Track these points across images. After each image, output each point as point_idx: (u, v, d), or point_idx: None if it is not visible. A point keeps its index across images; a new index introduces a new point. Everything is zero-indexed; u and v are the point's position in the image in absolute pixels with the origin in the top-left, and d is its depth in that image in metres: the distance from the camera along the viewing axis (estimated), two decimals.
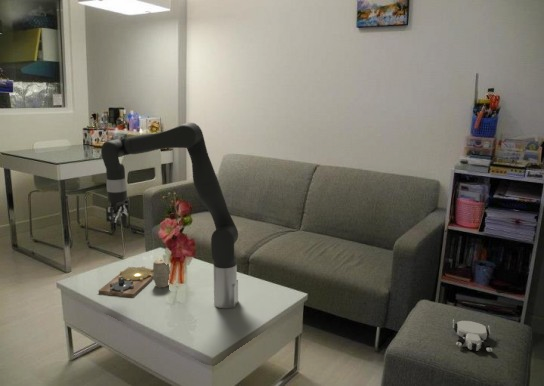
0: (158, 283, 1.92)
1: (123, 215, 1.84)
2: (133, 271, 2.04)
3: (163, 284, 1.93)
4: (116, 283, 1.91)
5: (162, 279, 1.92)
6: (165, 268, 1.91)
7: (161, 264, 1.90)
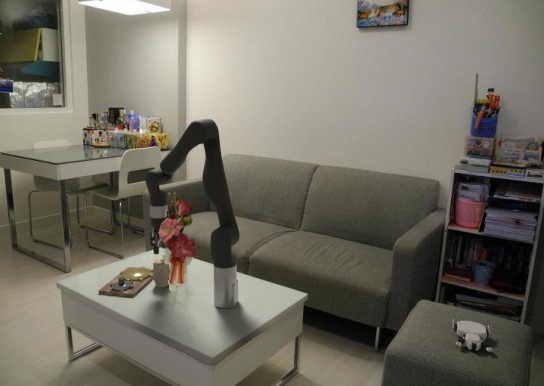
0: (158, 283, 1.92)
1: None
2: (133, 271, 2.04)
3: (163, 284, 1.93)
4: (116, 283, 1.91)
5: (162, 279, 1.92)
6: (165, 268, 1.91)
7: (161, 264, 1.90)
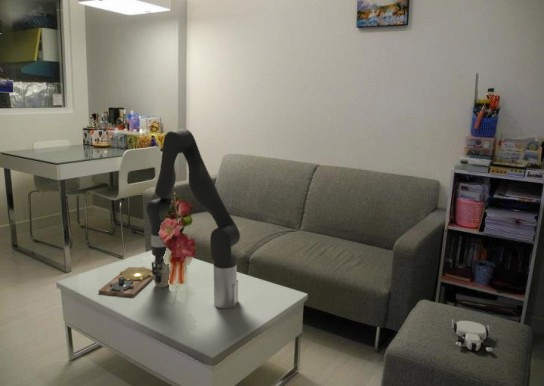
0: (158, 283, 1.92)
1: None
2: (133, 271, 2.04)
3: (163, 284, 1.93)
4: (116, 283, 1.91)
5: (162, 279, 1.92)
6: (165, 268, 1.91)
7: None
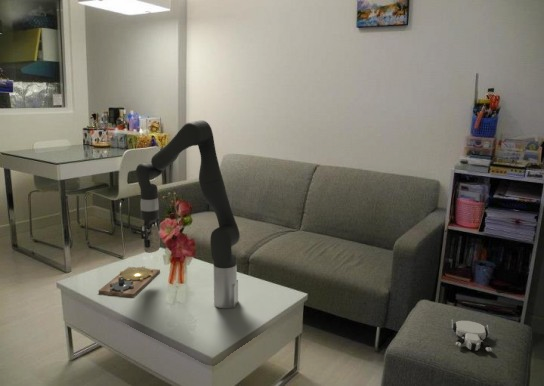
0: (147, 248, 1.91)
1: None
2: (133, 271, 2.04)
3: (152, 250, 1.92)
4: (116, 283, 1.91)
5: (151, 244, 1.91)
6: (154, 233, 1.90)
7: None
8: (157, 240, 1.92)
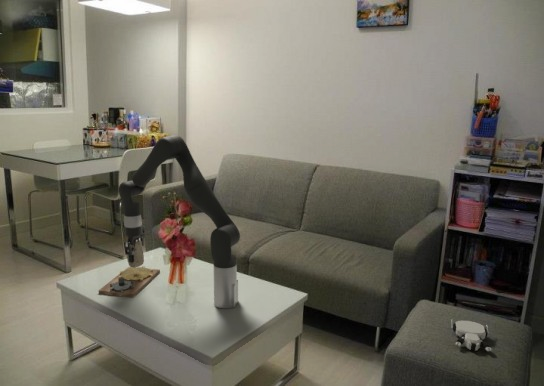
0: (131, 263, 1.98)
1: None
2: (133, 271, 2.04)
3: (136, 264, 1.99)
4: (116, 283, 1.91)
5: (135, 259, 1.98)
6: (138, 248, 1.97)
7: None
8: (141, 255, 1.99)
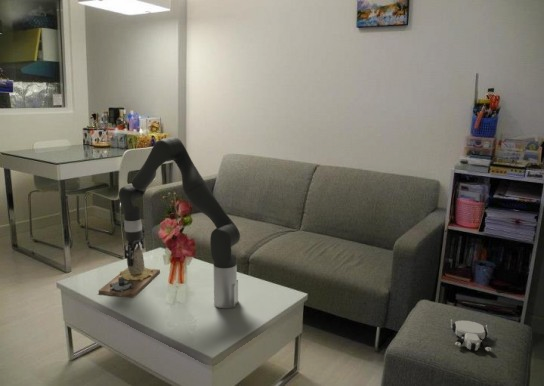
0: (131, 270, 1.99)
1: None
2: None
3: (136, 272, 1.99)
4: (116, 283, 1.91)
5: (135, 266, 1.98)
6: (138, 256, 1.98)
7: None
8: (141, 262, 2.00)
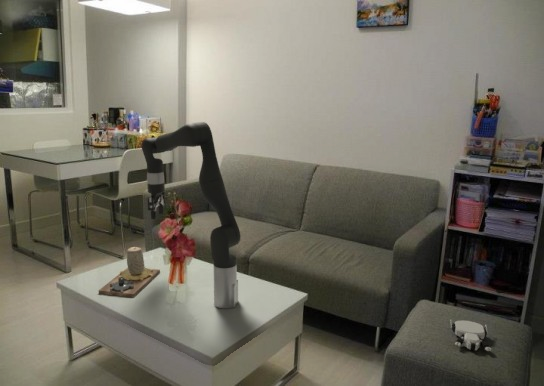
0: (131, 270, 1.99)
1: (160, 205, 2.06)
2: None
3: (137, 272, 1.99)
4: (116, 283, 1.91)
5: (135, 266, 1.98)
6: (138, 256, 1.98)
7: (134, 252, 1.97)
8: (141, 262, 2.00)
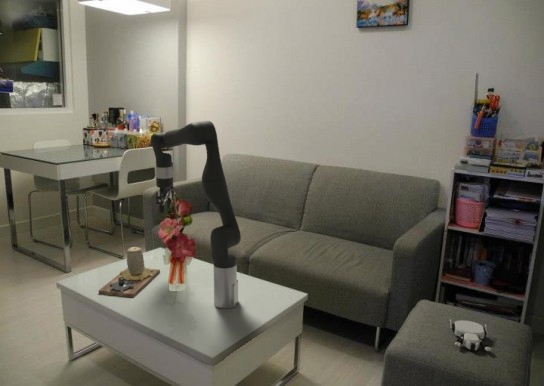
0: (131, 270, 1.99)
1: (168, 199, 2.08)
2: None
3: (137, 272, 1.99)
4: (116, 283, 1.91)
5: (135, 266, 1.98)
6: (138, 256, 1.98)
7: (134, 252, 1.97)
8: (141, 262, 2.00)
